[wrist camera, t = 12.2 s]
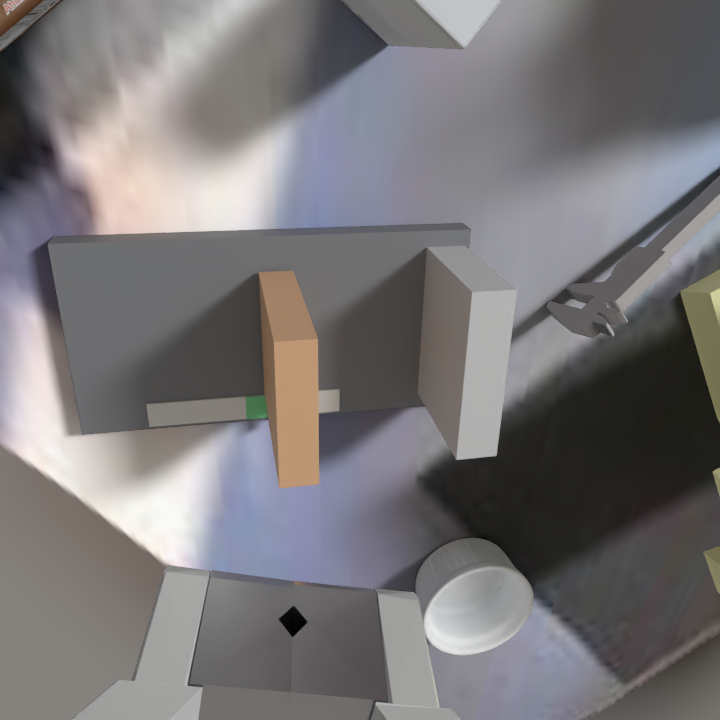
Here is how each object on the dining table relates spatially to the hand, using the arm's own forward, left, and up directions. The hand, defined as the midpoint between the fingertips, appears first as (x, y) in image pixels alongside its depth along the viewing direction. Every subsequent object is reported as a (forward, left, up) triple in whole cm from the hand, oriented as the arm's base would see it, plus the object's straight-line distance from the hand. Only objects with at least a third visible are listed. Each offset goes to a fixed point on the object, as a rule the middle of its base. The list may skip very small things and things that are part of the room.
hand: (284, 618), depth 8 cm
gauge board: (+10, 0, -34) cm, 35 cm away
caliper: (+11, +27, -34) cm, 45 cm away
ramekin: (+36, +8, -34) cm, 50 cm away
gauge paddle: (+12, 0, -32) cm, 34 cm away
